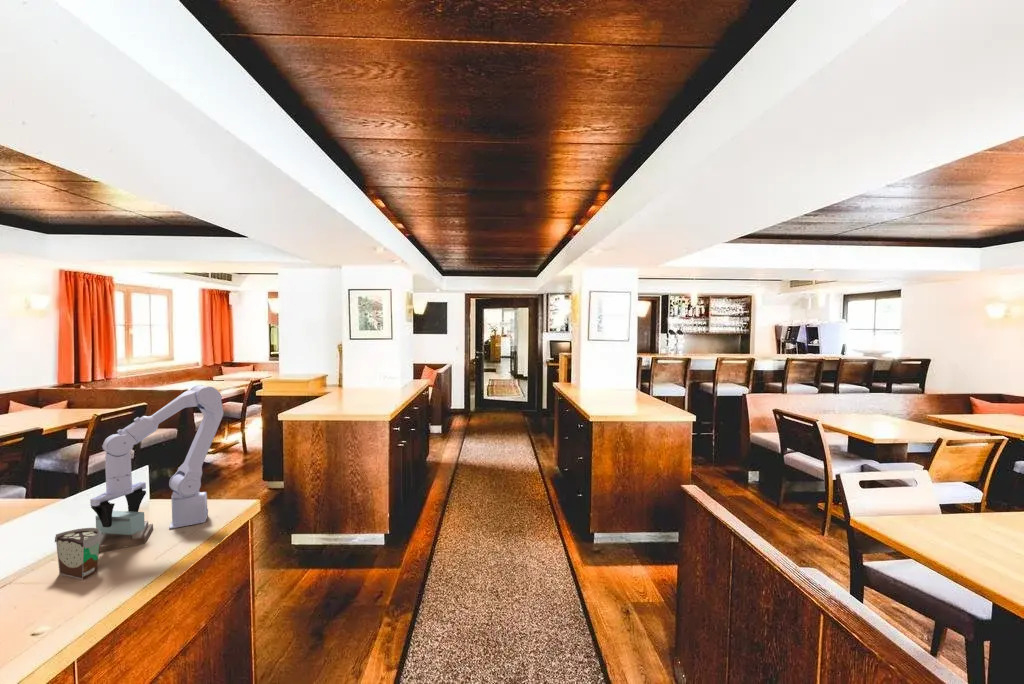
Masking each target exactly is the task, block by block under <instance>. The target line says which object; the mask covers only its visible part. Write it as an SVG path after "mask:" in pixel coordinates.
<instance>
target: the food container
mask: <svg viewBox="0 0 1024 684" xmlns="http://www.w3.org/2000/svg"><path fill="white" fill-rule="evenodd" d="M102 539H103V536H102V534H101V531H100V530H99V529H97V528H96V527H84V528H83V527H82V528H77V529H71V530H67V531H63V532H59V533H57V534H55V536H54V543H55V544H56V551H57V553H56V554H57V562H58V571H59V572H58V574H59V575H62V576H64V577H65V576H66V577H71V578H74V579H78V580H85V579H88V578H89V577H91V576H93V575H94V574H96V573H97V571H98V568H99V553H100V552H99V542H100V541H101V540H102Z"/></svg>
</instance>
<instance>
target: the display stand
mask: <svg viewBox="0 0 1024 684" xmlns="http://www.w3.org/2000/svg"><path fill="white" fill-rule="evenodd" d="M144 523H145V529H143V530H141V531H139V532H136V533H134V534H132V535H127V534H108V533H101V534H102V536H103V539H102V540H101V541H100V542H99V553H102V552H108V551H112V550H118V549H122V548H128V547H134V546H139V545H142V544H143V545H144V544H146V543H147V540H148V539H149V536H150V535H151V533H152V531H153V530H154V523H149V520H144Z"/></svg>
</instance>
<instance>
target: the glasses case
mask: <svg viewBox="0 0 1024 684" xmlns="http://www.w3.org/2000/svg"><path fill="white" fill-rule="evenodd" d="M144 521H145V512H144V511H138V512H131V511H128V510H127V511H126V510H113V512H112V525H111V527H103V526H102V523H101V520H100V518H99V516H98V515H97V514H96V515H95V528H97V529H99V530H100V531H101V533H108V534H127V535H132V534H134V533H136V532H139V531H141V530H143V529H145V523H144Z"/></svg>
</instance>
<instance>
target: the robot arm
mask: <svg viewBox="0 0 1024 684" xmlns="http://www.w3.org/2000/svg"><path fill="white" fill-rule="evenodd" d="M222 399H223V396H222V394H221V393H220V391H219V390H218V389H217V388H215V387H213V386H205V385H202V384H201V385H200V384H199V385H195V386H192V388H190V389H187V390H185V391H184V392H182V393H181V394H180V395H178V396H177V397H175V398H174V399H173V400H171V401H170V402H168V403H167V404H166V405H164V406H163V407H162V408H160V409H158V410H157V411H155V413H154V412H153V414H151V415H148V416H147V415H142V416H141V417H139V416H137V417H136V418H134V419H133V422H132V423H130V424H128V425H127V426H125V427H124V428H122V429H120V428H119V429H118V430H117V431H116V432H117V433H115V434H114V433H113V434H111V435H109V436H108V437H106V438H105V439H104V441H103V444H102V445H101V447H102V450H103V451H104V452H105V456H104V457H105V462H104V463H105V466H104V467H105V470H104V471H105V487H106V491H105V492H103V493H101V494H99V495H97V496H95V497H92V498H90V500H89V503H90V504H89V505H90V507H91V509H92V510H93V511H94V512H95V514H96V516H97V515H98V516H99V518H100V520H101V523H102V526H103V527H111V525H112V512H113V511H114V507H115V504H116V503H114V502H113V503H111V502H110V501H112V500H115V499H118V498H120V497H123V496H124V498H125V500H126V503H127V511H131V512H139V510H140V506H141V503H142V502H143V499H144V498H145V496H146V494H147V490H145V489H147V483H146V482H145V481H143V482H137V483H133V481H132V479H133V477H132V458H131V451H132V450H133V448H134V445H137V444H139V443H140V442H142V441H143V440H145V439H146V438H148V437H149V436H150V435H152V434H153V433H155V432H156V431H158V429H159V424H162V422H164V421H165V420H167V419H169V418H171V417H172V416H174V415H175V414H177V413H178V412H179V413H180V411H182V410H184V409H185V408H193V407H194V408H195V407H197V408H198V409H199V410H200V412H201V414H202V415H203V417H202V420H201V422H200V424H199V425H198V429H197V431H196V433H195V436H194V438H193V440H192V442H191V445H190V447H189V449H188V452H187V454H186V456H185V459H184V461H183V462H182V464H181V465H180V466H179V467H178V468H177V471H176V472H175V473H174V474H173V475H172V476H171V477H170V479H169V482H168V486H169V488H170V489H171V491H172V494H171V496H170V497H171V498H170V499H171V518H172V519H171V522H170V525H169V527H168V529H169V530H171V529H176V528H181V527H186V526H193V525H199V524H203V523H206V521H207V519H208V514H209V508H208V493H207V491H202V492H201V491H200V488H201V486H202V483H201V481H202V476H203V464H204V462H205V460H206V458H207V455H208V453H209V451H210V448H211V446H212V443H213V441H214V439H215V436H216V434H217V431H218V428H219V426H220V424H221V421H222V420H223V417H224V409H223V402H222Z"/></svg>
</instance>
